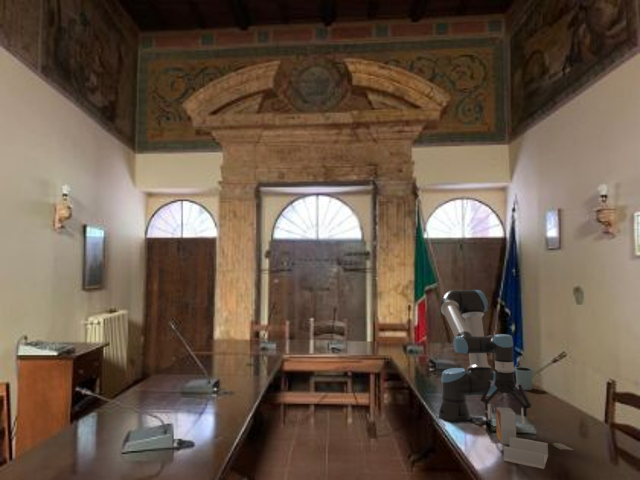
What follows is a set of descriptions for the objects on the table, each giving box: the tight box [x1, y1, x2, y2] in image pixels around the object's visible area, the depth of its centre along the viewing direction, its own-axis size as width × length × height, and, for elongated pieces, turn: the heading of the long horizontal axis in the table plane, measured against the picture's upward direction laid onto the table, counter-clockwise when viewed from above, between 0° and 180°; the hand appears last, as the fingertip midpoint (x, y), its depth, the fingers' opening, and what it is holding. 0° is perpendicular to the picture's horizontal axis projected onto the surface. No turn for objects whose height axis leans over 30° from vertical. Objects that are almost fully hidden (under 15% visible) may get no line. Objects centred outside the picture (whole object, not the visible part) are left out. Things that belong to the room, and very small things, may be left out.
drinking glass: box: [514, 366, 534, 391], centre depth 282 cm, size 10×10×12 cm
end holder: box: [502, 436, 549, 470], centre depth 178 cm, size 14×13×5 cm
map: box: [551, 442, 574, 451], centre depth 183 cm, size 5×20×1 cm, turn 23°
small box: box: [495, 406, 517, 445], centre depth 196 cm, size 8×6×13 cm
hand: (506, 421), depth 196 cm, fingers open, 13 cm apart
